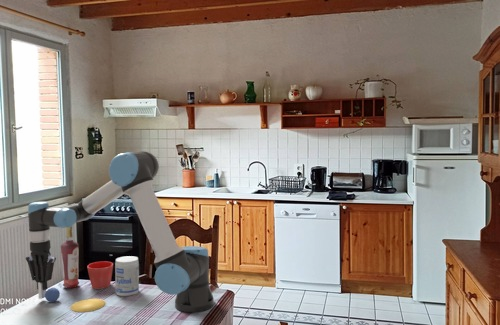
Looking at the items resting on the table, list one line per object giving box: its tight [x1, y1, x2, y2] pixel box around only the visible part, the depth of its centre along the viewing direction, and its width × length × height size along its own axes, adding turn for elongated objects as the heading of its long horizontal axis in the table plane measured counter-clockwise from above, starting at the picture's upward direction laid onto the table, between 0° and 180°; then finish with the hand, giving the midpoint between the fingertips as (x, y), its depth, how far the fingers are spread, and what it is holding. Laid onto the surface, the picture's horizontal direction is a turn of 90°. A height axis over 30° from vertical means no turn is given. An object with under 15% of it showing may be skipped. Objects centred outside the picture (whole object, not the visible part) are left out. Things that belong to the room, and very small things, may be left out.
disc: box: [70, 298, 107, 313], centre depth 173 cm, size 13×13×1 cm
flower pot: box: [86, 260, 114, 290], centre depth 195 cm, size 11×11×10 cm
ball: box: [44, 287, 61, 303], centre depth 177 cm, size 6×6×6 cm
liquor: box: [60, 226, 80, 290], centre depth 194 cm, size 7×7×28 cm
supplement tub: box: [114, 255, 140, 297], centre depth 186 cm, size 10×10×15 cm
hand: (42, 297), depth 179 cm, fingers closed
